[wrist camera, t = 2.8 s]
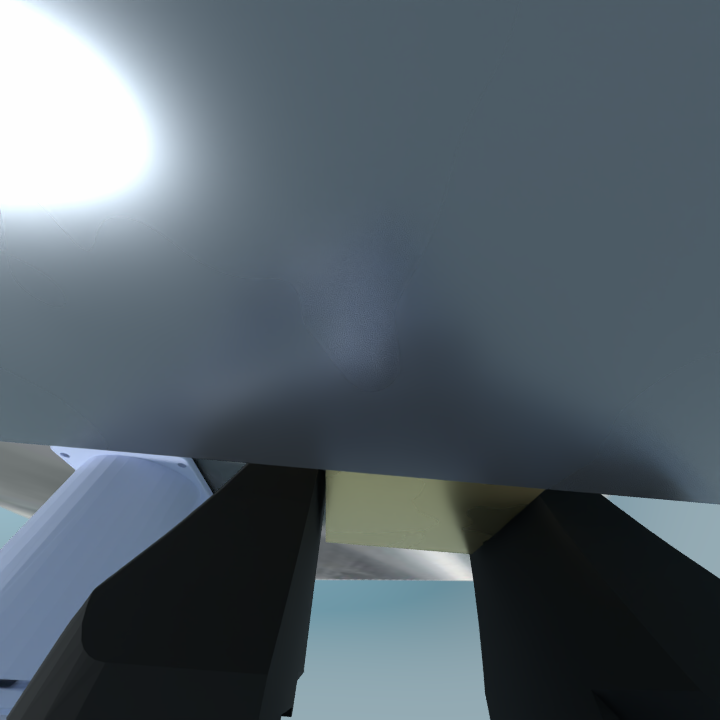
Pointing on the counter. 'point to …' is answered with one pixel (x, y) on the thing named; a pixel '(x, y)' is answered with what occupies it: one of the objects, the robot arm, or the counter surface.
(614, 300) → the block
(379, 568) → the counter surface
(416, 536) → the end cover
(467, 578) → the counter surface
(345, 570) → the counter surface
